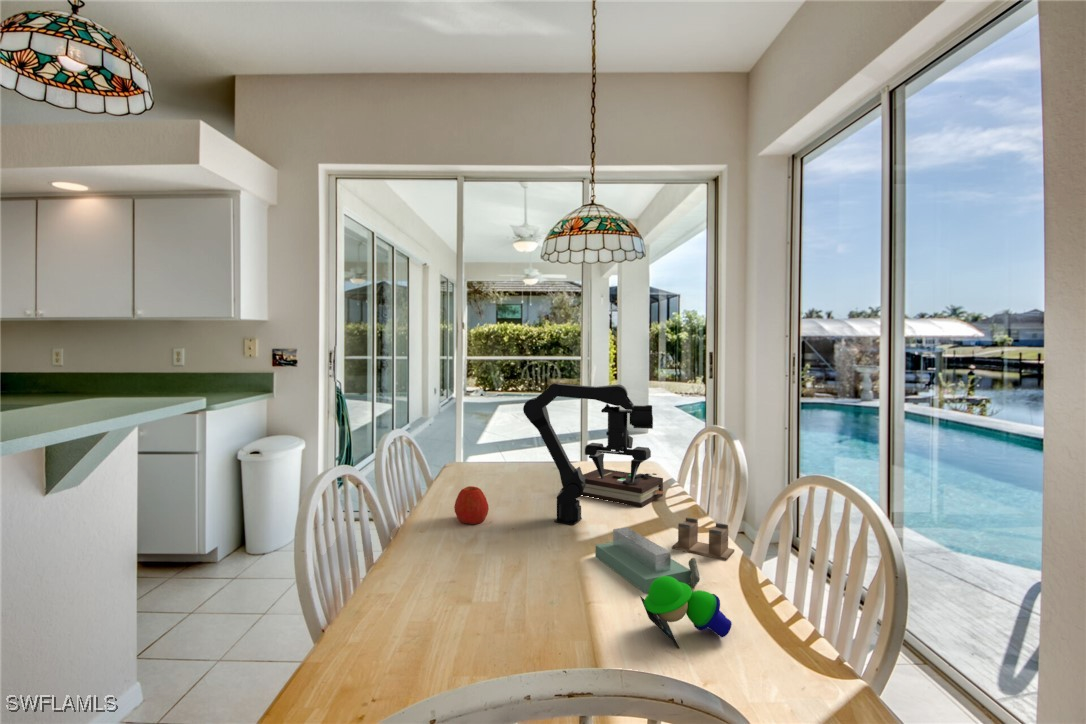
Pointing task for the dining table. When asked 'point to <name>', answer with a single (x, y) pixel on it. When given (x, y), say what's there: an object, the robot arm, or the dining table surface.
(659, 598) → the toy
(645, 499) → the decorative book
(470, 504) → the apple
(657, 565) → the rail
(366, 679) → the dining table surface
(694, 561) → the stone
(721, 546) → the rack
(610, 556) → the green rectangular slab
